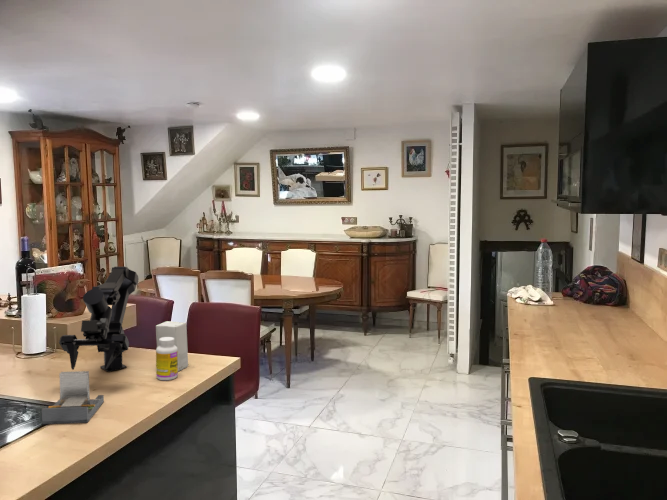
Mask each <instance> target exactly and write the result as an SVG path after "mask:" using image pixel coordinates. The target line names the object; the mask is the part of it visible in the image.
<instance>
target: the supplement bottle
mask: <svg viewBox="0 0 667 500" xmlns="http://www.w3.org/2000/svg"><path fill="white" fill-rule="evenodd" d="M159 344H160V346H158V347H157V346H156V350H155V354H156V355H155V365H156V366H155V372H156V374H155V375H156V379H157V380H159V381H171V380H174V379H176V378H177V377H178V375H179V374H178V373H179V371H178V349H177V347H176V346H175V345H174V338H173V337H163V338H160V339H159Z"/></svg>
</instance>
